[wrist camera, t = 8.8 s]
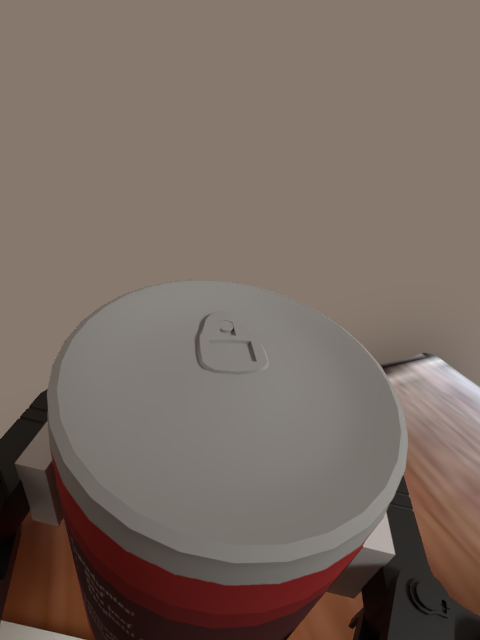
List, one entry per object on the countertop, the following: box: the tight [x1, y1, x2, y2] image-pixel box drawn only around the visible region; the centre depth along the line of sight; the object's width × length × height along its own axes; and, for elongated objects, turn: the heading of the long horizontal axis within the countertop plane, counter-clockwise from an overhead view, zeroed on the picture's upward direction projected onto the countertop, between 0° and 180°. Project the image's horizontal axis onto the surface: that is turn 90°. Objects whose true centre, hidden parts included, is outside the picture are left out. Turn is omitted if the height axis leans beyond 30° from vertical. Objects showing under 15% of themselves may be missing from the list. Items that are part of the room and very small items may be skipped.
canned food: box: [47, 280, 408, 640], centre depth 11 cm, size 8×8×11 cm
